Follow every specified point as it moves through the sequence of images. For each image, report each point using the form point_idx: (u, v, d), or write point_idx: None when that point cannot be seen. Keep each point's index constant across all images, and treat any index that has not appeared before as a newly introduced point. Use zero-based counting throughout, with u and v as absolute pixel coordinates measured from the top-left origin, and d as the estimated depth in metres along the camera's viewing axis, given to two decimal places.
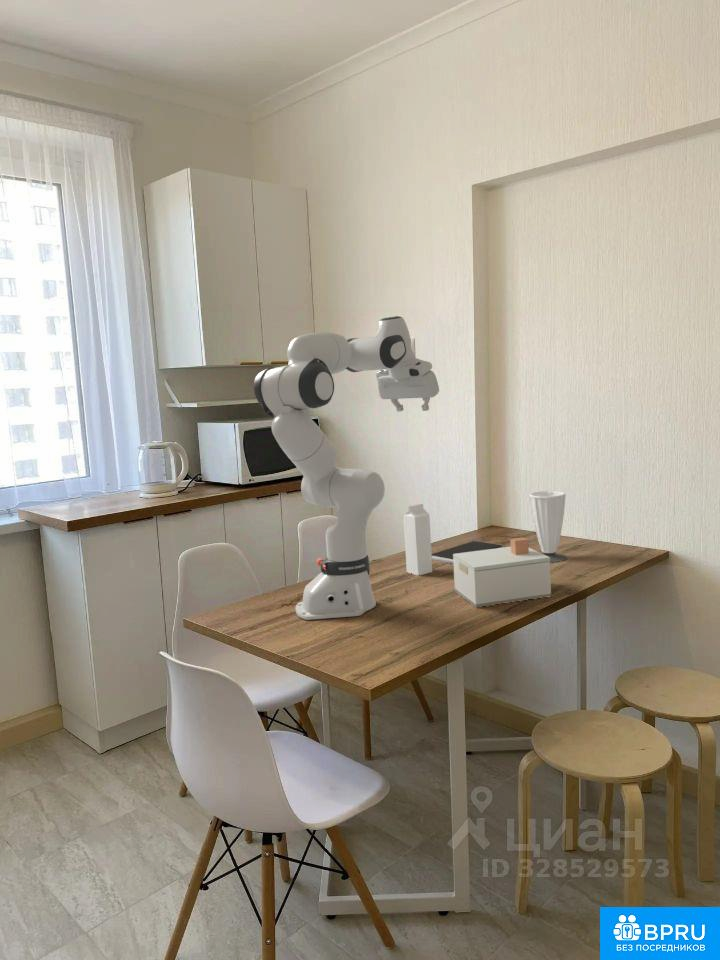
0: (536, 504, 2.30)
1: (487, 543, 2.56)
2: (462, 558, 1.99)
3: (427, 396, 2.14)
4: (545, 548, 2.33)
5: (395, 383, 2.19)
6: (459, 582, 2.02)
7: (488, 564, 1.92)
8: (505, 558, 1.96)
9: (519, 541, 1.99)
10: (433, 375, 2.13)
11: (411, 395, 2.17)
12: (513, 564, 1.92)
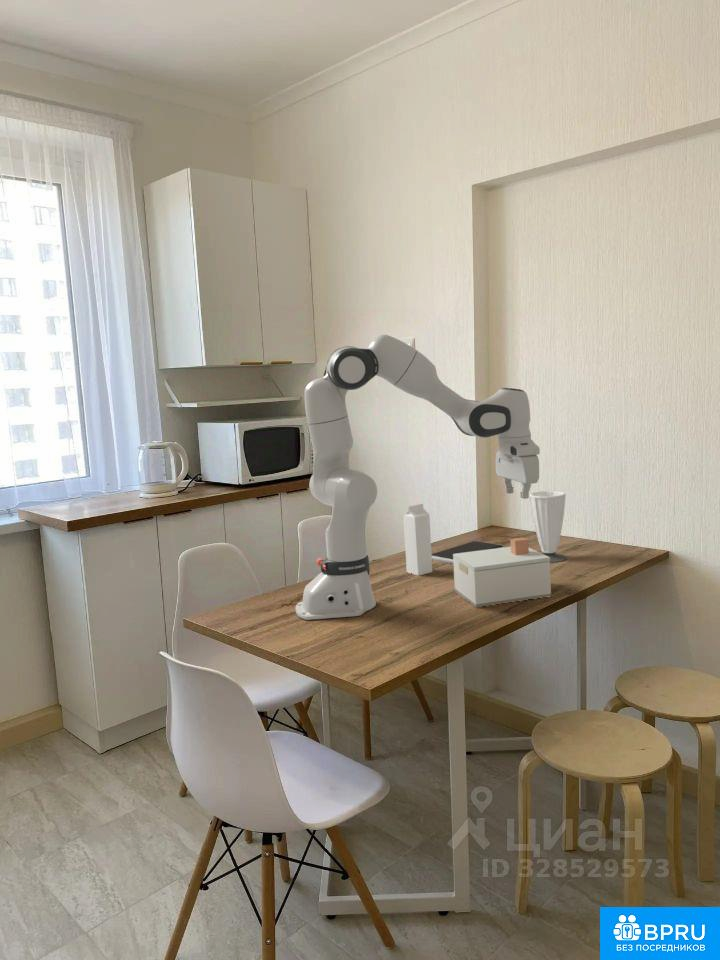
0: (536, 504, 2.30)
1: (487, 543, 2.56)
2: (462, 558, 1.99)
3: (522, 481, 1.91)
4: (545, 548, 2.33)
5: (505, 460, 2.00)
6: (459, 582, 2.02)
7: (488, 564, 1.92)
8: (505, 558, 1.96)
9: (519, 541, 1.99)
10: (535, 461, 1.89)
11: (513, 477, 1.96)
12: (513, 564, 1.92)
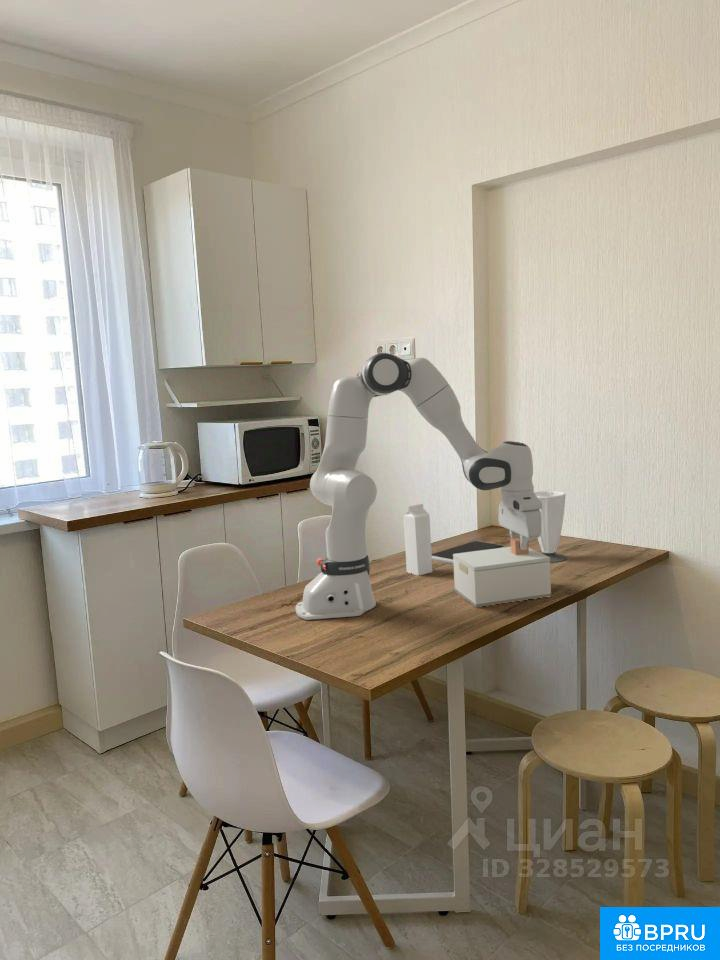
0: None
1: (488, 543, 2.56)
2: (462, 558, 1.99)
3: (525, 535, 1.92)
4: (545, 548, 2.33)
5: (508, 512, 2.02)
6: (459, 582, 2.02)
7: (488, 564, 1.92)
8: (505, 558, 1.96)
9: (519, 541, 1.99)
10: (538, 516, 1.90)
11: (516, 529, 1.98)
12: (513, 564, 1.92)
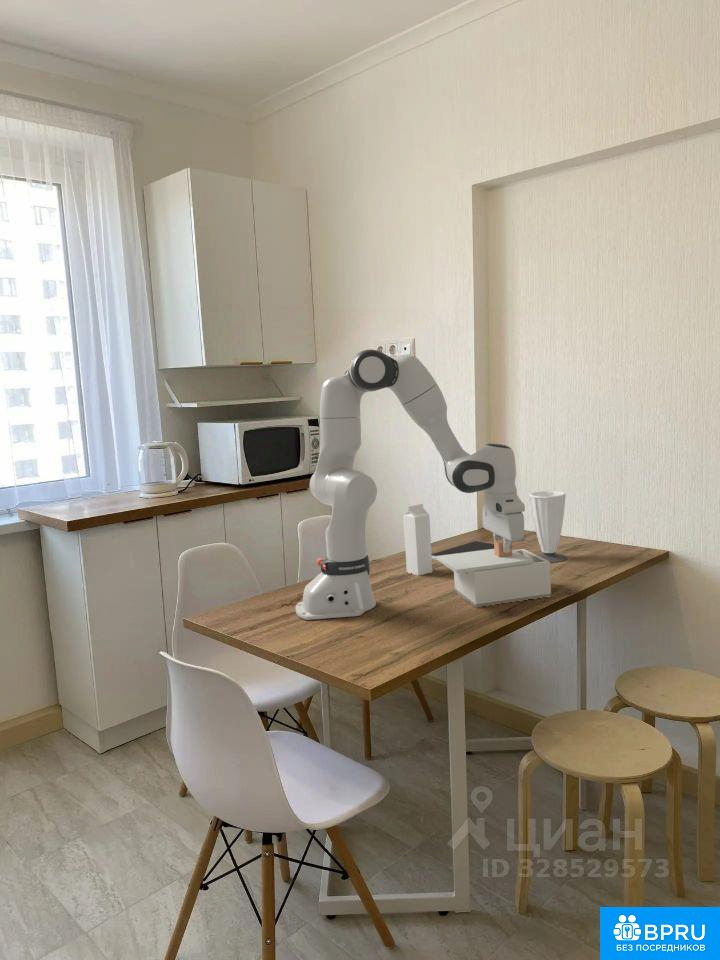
0: (536, 504, 2.30)
1: (488, 543, 2.56)
2: (445, 560, 1.98)
3: (507, 538, 1.91)
4: (545, 548, 2.33)
5: (492, 514, 2.01)
6: (459, 582, 2.02)
7: (470, 566, 1.91)
8: (488, 560, 1.95)
9: (502, 543, 1.98)
10: (520, 518, 1.89)
11: (499, 532, 1.96)
12: (496, 566, 1.91)
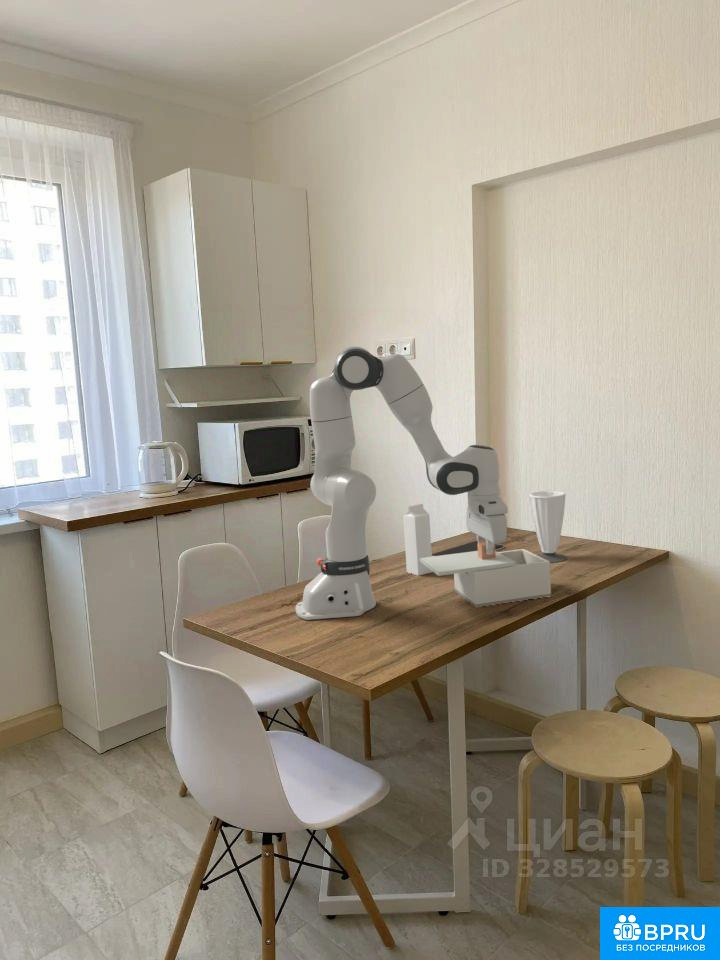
0: (536, 504, 2.30)
1: None
2: (428, 562, 1.97)
3: (490, 540, 1.90)
4: (545, 548, 2.33)
5: (475, 516, 2.00)
6: (459, 582, 2.02)
7: (453, 568, 1.90)
8: (471, 562, 1.94)
9: None
10: (503, 520, 1.88)
11: (482, 534, 1.95)
12: (478, 569, 1.90)
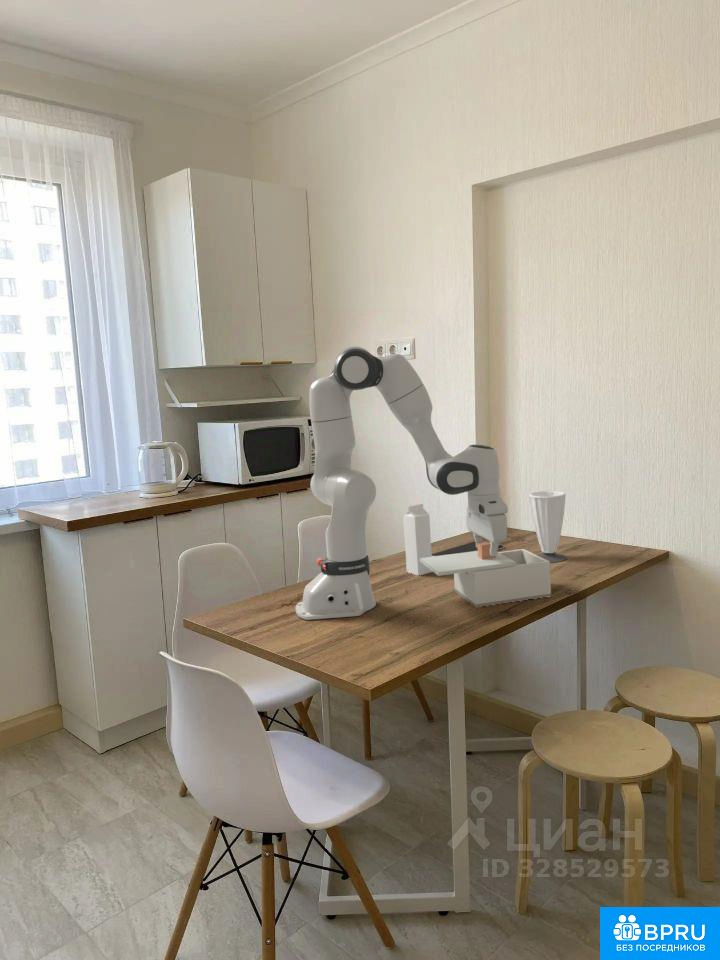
0: (536, 504, 2.30)
1: None
2: (428, 562, 1.97)
3: (490, 540, 1.90)
4: (545, 548, 2.33)
5: (475, 516, 2.00)
6: (459, 582, 2.02)
7: (453, 568, 1.90)
8: (471, 562, 1.94)
9: (486, 545, 1.97)
10: (503, 520, 1.88)
11: (482, 534, 1.95)
12: (478, 569, 1.90)
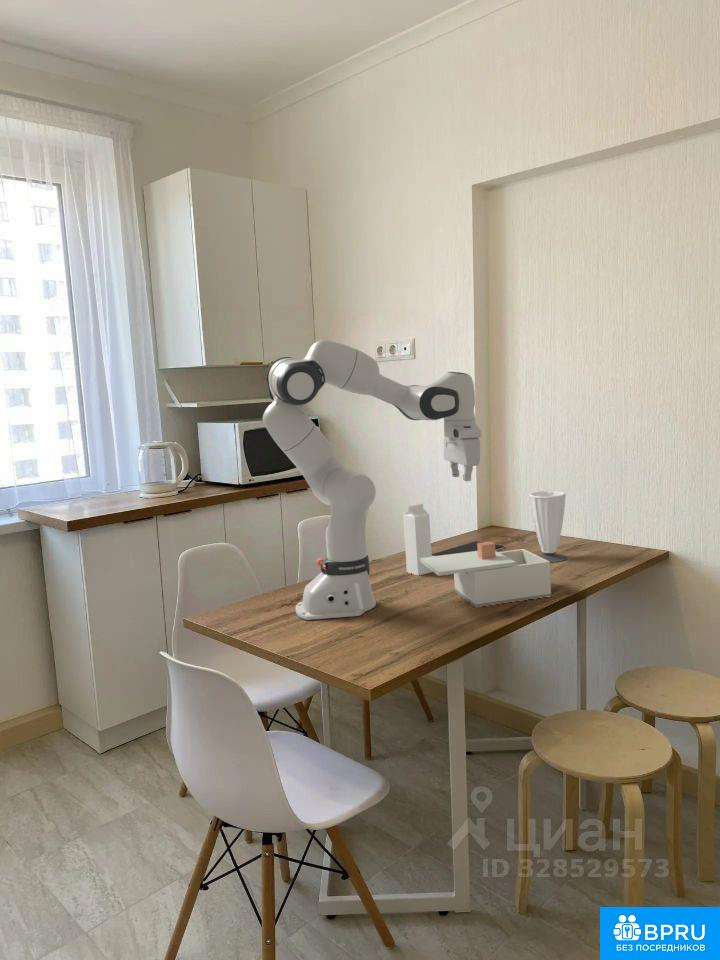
0: (536, 504, 2.30)
1: None
2: (428, 562, 1.97)
3: (464, 464, 1.94)
4: (545, 548, 2.33)
5: (451, 444, 2.03)
6: (459, 582, 2.02)
7: (453, 568, 1.90)
8: (471, 562, 1.94)
9: (486, 545, 1.97)
10: (476, 444, 1.92)
11: (457, 460, 1.99)
12: (478, 569, 1.90)
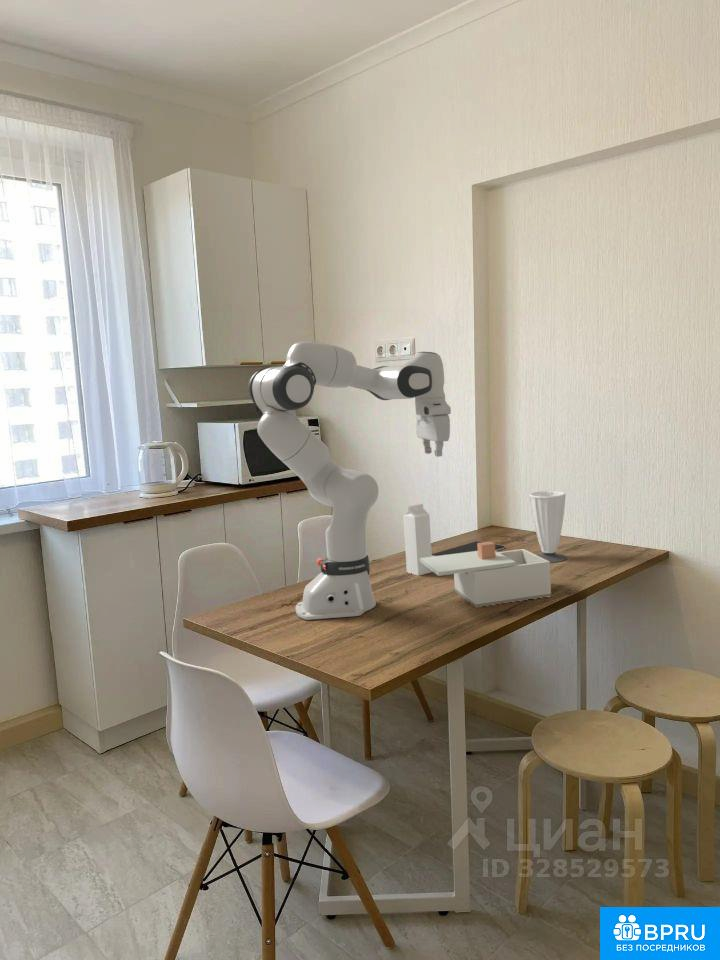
0: (536, 504, 2.30)
1: None
2: (428, 562, 1.97)
3: (435, 439, 2.02)
4: (545, 548, 2.33)
5: (423, 421, 2.12)
6: (459, 582, 2.02)
7: (453, 568, 1.90)
8: (471, 562, 1.94)
9: (486, 545, 1.97)
10: (446, 420, 2.00)
11: (428, 436, 2.07)
12: (478, 569, 1.90)
